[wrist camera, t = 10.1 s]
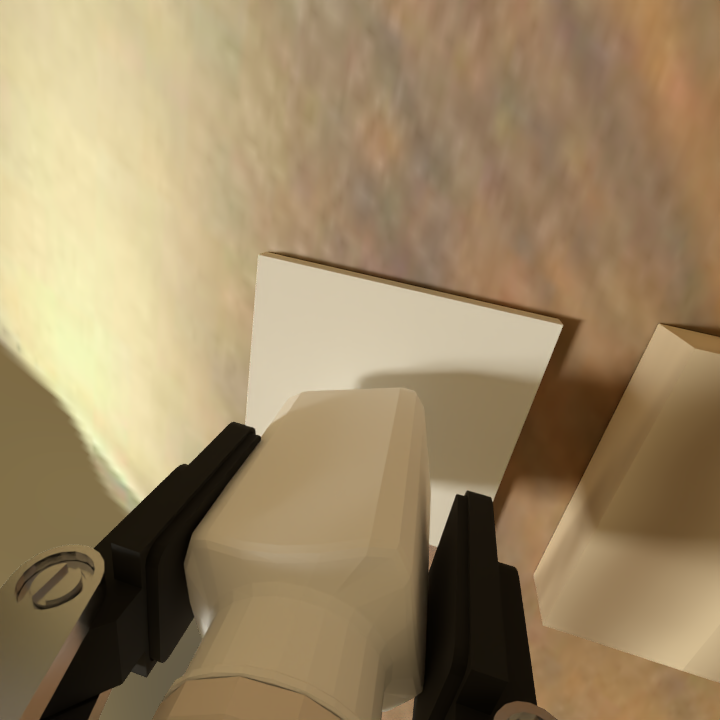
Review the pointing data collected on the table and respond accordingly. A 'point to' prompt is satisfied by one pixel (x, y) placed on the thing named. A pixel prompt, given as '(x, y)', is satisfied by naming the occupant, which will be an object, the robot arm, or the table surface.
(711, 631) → the socket block
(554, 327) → the beige mat
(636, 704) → the table surface
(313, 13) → the table surface
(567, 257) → the table surface
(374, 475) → the pepper shaker
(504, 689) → the robot arm
